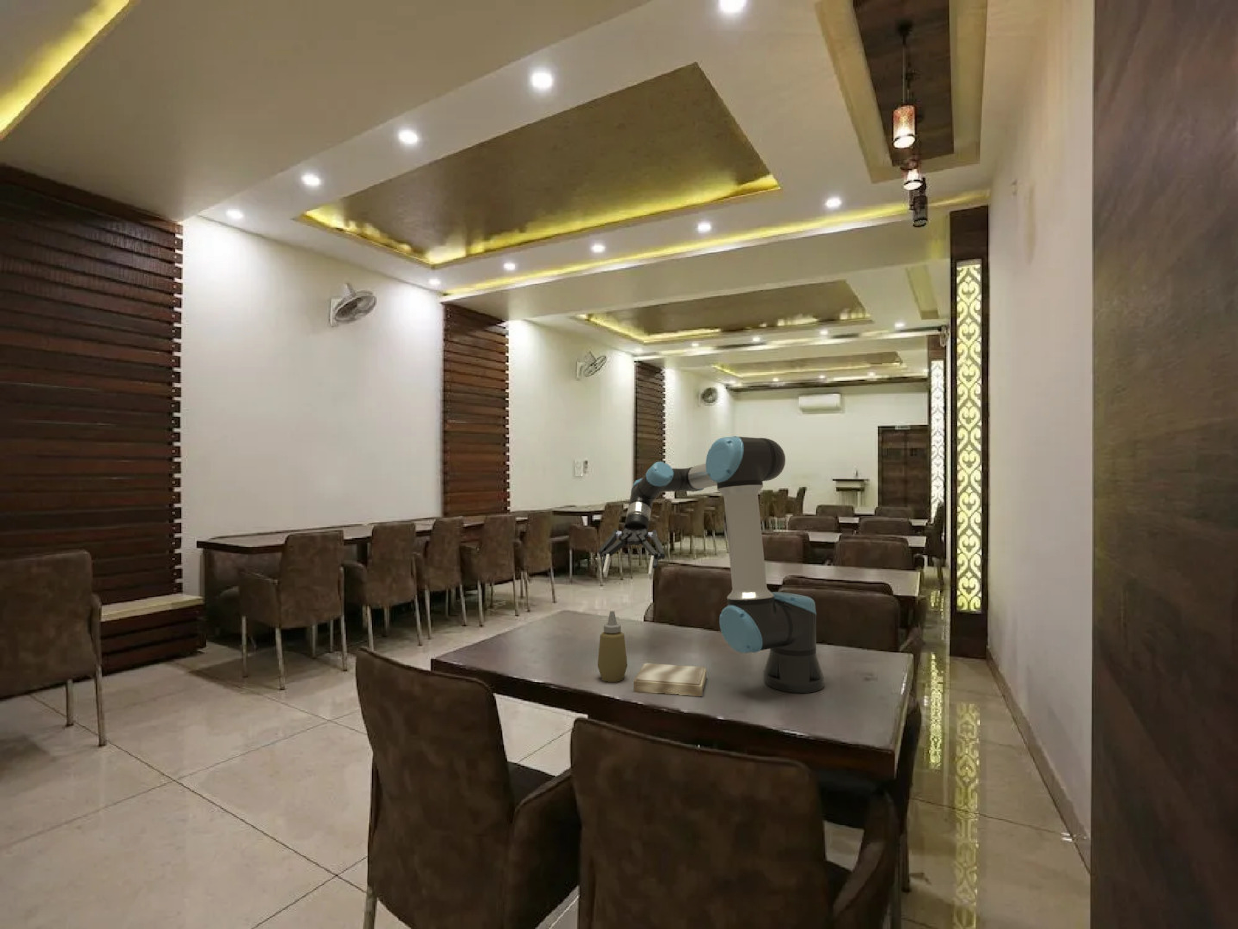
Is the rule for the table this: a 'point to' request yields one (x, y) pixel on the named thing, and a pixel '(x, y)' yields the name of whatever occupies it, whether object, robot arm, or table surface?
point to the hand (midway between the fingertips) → (627, 575)
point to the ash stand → (670, 679)
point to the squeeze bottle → (612, 651)
